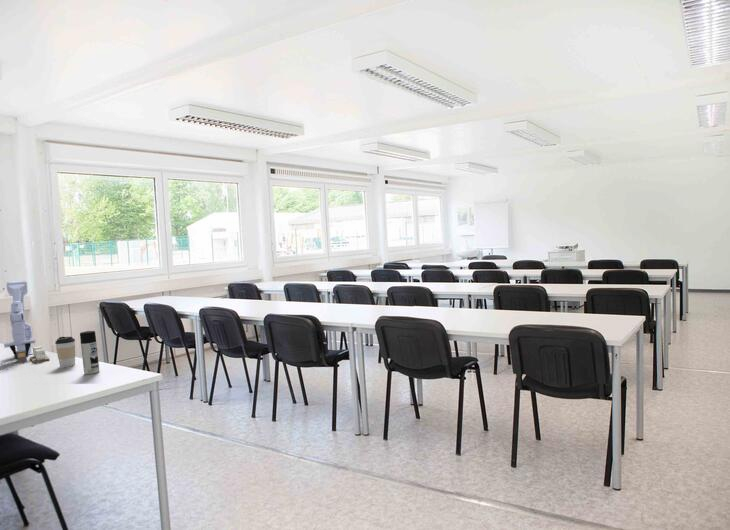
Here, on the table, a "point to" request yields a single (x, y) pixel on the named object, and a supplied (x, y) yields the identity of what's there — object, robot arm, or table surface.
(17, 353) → the block
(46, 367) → the table surface
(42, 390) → the table surface
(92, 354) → the spray can
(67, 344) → the coffee cup
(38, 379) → the table surface
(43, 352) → the cream blocky elongated piece
